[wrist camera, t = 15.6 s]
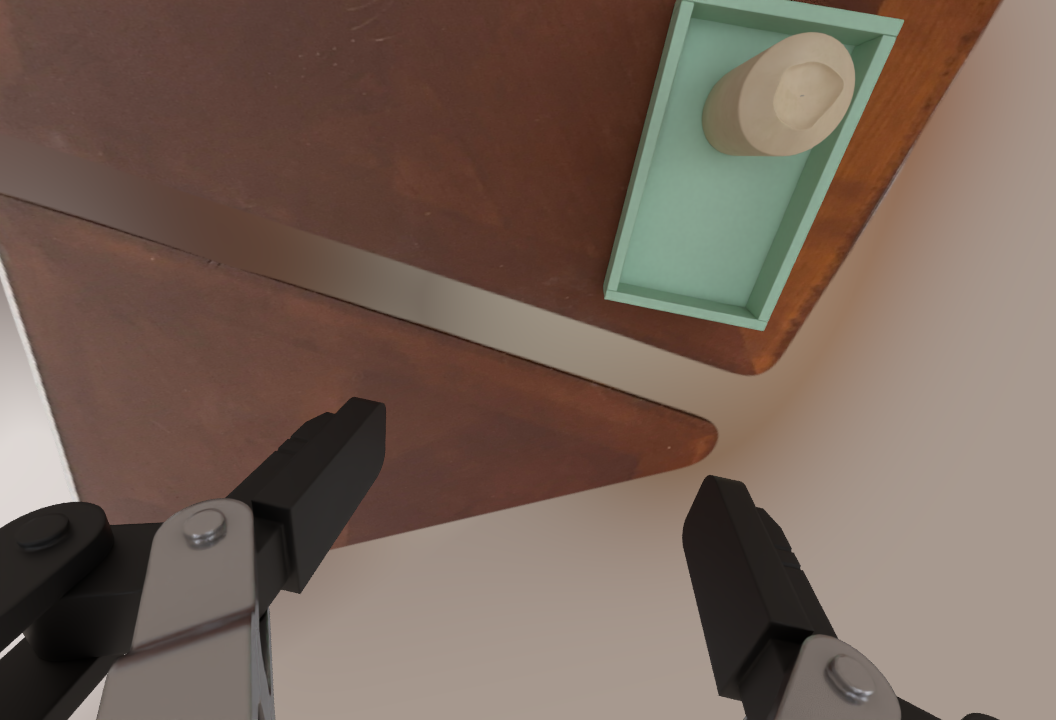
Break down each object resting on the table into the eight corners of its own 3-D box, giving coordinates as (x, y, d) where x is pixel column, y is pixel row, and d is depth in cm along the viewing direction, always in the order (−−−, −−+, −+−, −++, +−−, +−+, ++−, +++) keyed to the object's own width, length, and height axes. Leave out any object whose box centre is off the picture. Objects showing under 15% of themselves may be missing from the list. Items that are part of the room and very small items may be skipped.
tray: (675, 2, 28) (686, -18, 25) (868, 35, 28) (905, 19, 24) (602, 286, 37) (604, 299, 34) (748, 315, 36) (763, 331, 33)
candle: (790, 57, 28) (883, 11, 19) (780, 149, 30) (861, 147, 21) (701, 72, 29) (752, 36, 20) (699, 161, 31) (743, 164, 22)
